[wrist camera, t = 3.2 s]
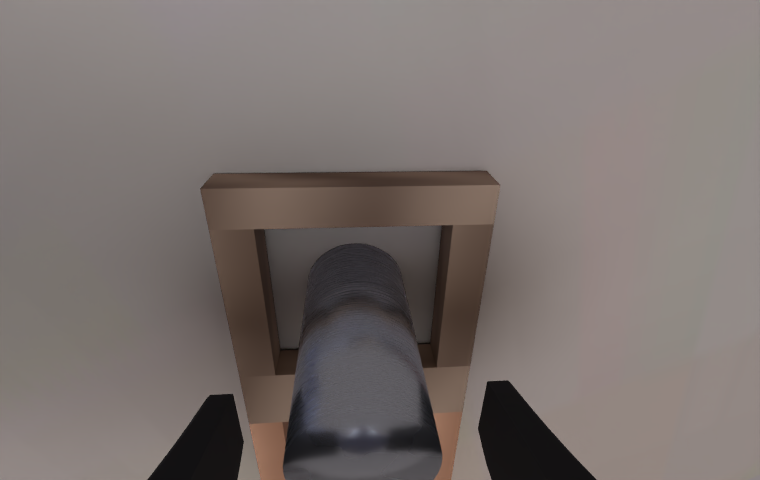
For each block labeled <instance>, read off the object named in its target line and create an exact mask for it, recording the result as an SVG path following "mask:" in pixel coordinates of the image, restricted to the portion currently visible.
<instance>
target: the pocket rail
mask: <svg viewBox="0 0 760 480" xmlns="http://www.w3.org/2000/svg"><path fill="white" fill-rule="evenodd" d="M200 190H201V195H202V200H203V204H204V209H205V214H206V219H207V224H208V228H209V233H210V238H211V243H212V247H213V252H214V257H215V262H216V267H217V271H218V276H219V281H220V286H221V291H222V295H223V300H224V305H225V310H226V315H227V319H228V324H229V329H230V334H231V339H232V343H233V348H234V353H235V358H236V363H237V367H238V372H239V377H240V382H241V387H242V391H243V396H244V401H245V406H246V411H247V415H248V420H249V425H250V430H251V435H252V439H253V444H254V449H255V454H256V459H257V463H258V468H259V473H260V478H261V480H285V477H284V474H283V460H284V453H285V445H286V438H287V431H288V423H289V416H290V409H291V402H292V394H293V387H294V380H295V372H296V365H297V358H298V351H299V350H280V344H279V337H278V330H277V322H276V315H275V307H274V300H273V293H272V285H271V278H270V270H269V263H268V256H267V248H266V241H265V233H264V229H291V228H339V227H387V226H435V225H442V232H441V242H440V252H439V262H438V272H437V282H436V292H435V302H434V312H433V322H432V332H431V342H430V344H417V345H418V349H419V354H420V358H421V362H422V367H423V371H424V375H425V380H426V384H427V388H428V393H429V397H430V401H431V406H432V410H433V414H434V419H435V423H436V427H437V432H438V436H439V440H440V445H441V449H442V464H441V468H440V470H439V472H438V474H437V476H436V477H435V479H434V480H451V476H452V470H453V464H454V458H455V452H456V446H457V440H458V435H459V429H460V423H461V417H462V411H463V405H464V399H465V393H466V387H467V381H468V375H469V369H470V363H471V357H472V351H473V345H474V339H475V333H476V327H477V321H478V315H479V309H480V304H481V298H482V292H483V286H484V280H485V274H486V268H487V262H488V256H489V250H490V244H491V238H492V232H493V226H494V220H495V214H496V208H497V202H498V196H499V190H500V184H499V183H498V182H497V181H496V180H495V179H494V178H493V177H492V176H491V175H490V174H489V173H488V172H487V171H438V172H339V173H241V174H213V175H212V176H211V177H210V178H209V180H208V181H207V182H206V183H205V184H204V185H203V186H202V188H201V189H200Z"/></svg>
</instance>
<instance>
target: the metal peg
mask: <svg viewBox="0 0 760 480" xmlns="http://www.w3.org/2000/svg"><path fill="white" fill-rule="evenodd" d="M441 464H442V449H441V445H440V440H439V436H438V432H437V427H436V423H435V419H434V414H433V410H432V406H431V401H430V397H429V393H428V388H427V384H426V380H425V375H424V371H423V367H422V362H421V358H420V354H419V349H418V345H417V341H416V336H415V332H414V328H413V323H412V319H411V315H410V310H409V306H408V302H407V298H406V293H405V289H404V285H403V280H402V276H401V272H400V269H399V267H398V265H397V263H396V262H395V261H394V259H393V258H392V257H391V256H390V255H388V254H387V253H386V252H384V251H382V250H381V249H379V248H376V247H374V246H370V245H366V244H347V245H342V246H339V247H336V248H333V249H331V250H329V251H328V252H326V253H325V254H323V255H322V256H321V257H320V258H319V259H318V260H317V261H316V262H315V264H314V265H313V267H312V269H311V271H310V274H309V278H308V285H307V292H306V300H305V307H304V314H303V321H302V329H301V336H300V343H299V351H298V358H297V365H296V372H295V380H294V387H293V394H292V402H291V409H290V416H289V423H288V431H287V438H286V445H285V453H284V460H283V474H284V477H285V480H434V479H435V477H436V476H437V474H438V472H439V470H440V468H441Z"/></svg>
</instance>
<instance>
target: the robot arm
mask: <svg viewBox="0 0 760 480" xmlns="http://www.w3.org/2000/svg"><path fill="white" fill-rule="evenodd" d="M478 430H479V435H480V439H481V443H482V448H483V452H484V456H485V460H486V464H487V467H488V470H489V473H490V476H491V479H492V480H596V479H595V478H594V477H593V476H592V475H591V474H590V472H589V471H588V470H587V469H586V468H585V467H584V466H583V465H582V464H581V463H580V462H579V461H578V460H577V459H576V458H575V457H574V456H573V455H572V454H571V453H570V452H569V450H568V449H567V448H566V447H565V446H564V445H563V444H562V443H561V442H560V440H559V439H558V438H557V437H556V436H555V435H554V434H553V433H552V432H551V430H550V429H549V428H548V427H547V426H546V425H545V424H544V422H543V421H542V420H541V419H540V418H539V417H538V415H537V414H536V413H535V412H534V411H533V409H532V408H531V407H530V406H529V405H528V404H527V402H526V401H525V400H524V399H523V397H522V396H521V395H520V394H519V393H518V391H517V390H516V389H515V388H514V387H513V385H512V384H511V383H510V382H509V381H488V382H487V386H486V391H485V396H484V401H483V406H482V411H481V416H480V421H479V426H478ZM243 443H244V441H243V437H242V432H241V428H240V423H239V419H238V414H237V410H236V405H235V401H234V397H233V394H222V395H210V396H209V397H208V398H207V399H206V400H205V402H204V403H203V405H202V406H201V408H200V409H199V411H198V412H197V413H196V415H195V416H194V418H193V419H192V421H191V422H190V424H189V425H188V426H187V428H186V429H185V431H184V432H183V433H182V435H181V436H180V437H179V439H178V440H177V442H176V443H175V444H174V446H173V447H172V448H171V450H170V451H169V452H168V454H167V455H166V456H165V458H164V459H163V460H162V462H161V463H160V464H159V466H158V467H157V468H156V469H155V471H154V472H153V473H152V475H151V476H150V477H149V478H148V480H237V478H238V473H239V467H240V462H241V455H242V449H243Z"/></svg>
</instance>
